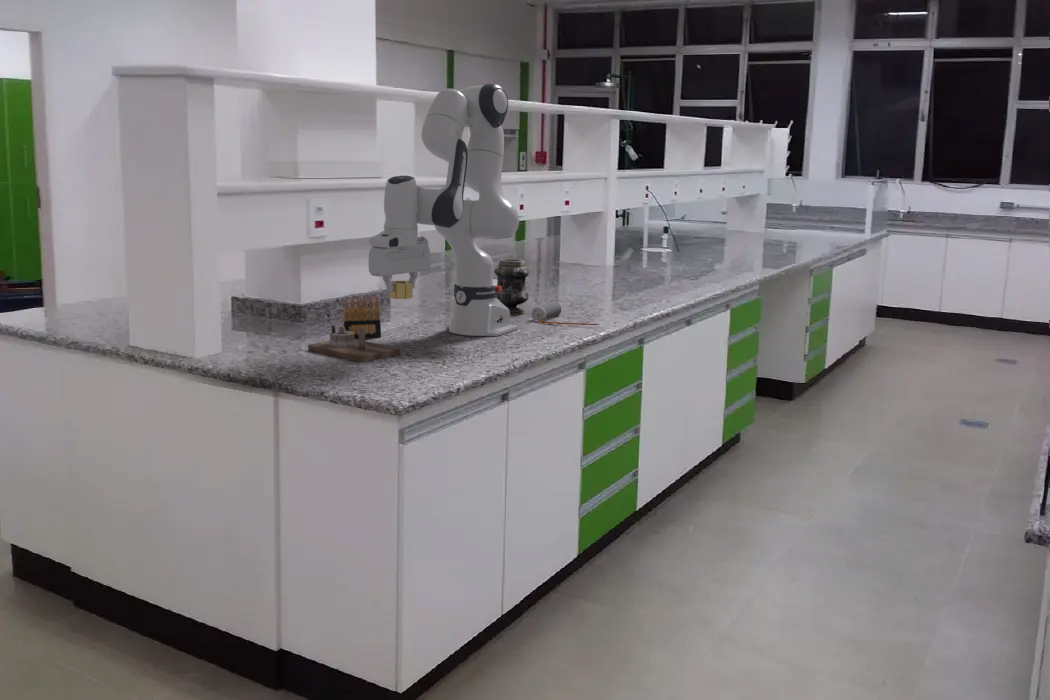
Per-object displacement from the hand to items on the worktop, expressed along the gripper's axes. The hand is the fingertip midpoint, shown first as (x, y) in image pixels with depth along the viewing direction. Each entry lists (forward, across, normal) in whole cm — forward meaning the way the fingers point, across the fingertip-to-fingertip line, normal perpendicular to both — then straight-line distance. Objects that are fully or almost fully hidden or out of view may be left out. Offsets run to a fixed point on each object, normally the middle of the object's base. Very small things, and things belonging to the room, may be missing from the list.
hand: (400, 290), depth 252 cm
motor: (+18, -72, +8) cm, 74 cm away
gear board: (+16, +12, -5) cm, 21 cm away
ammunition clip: (+16, -3, -18) cm, 24 cm away
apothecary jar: (+17, -69, -16) cm, 72 cm away
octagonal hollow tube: (+2, 0, 0) cm, 2 cm away
